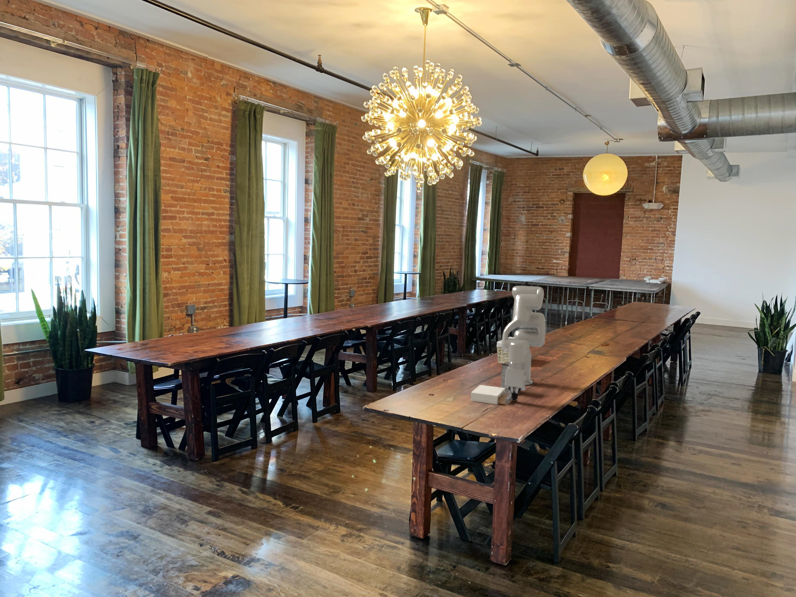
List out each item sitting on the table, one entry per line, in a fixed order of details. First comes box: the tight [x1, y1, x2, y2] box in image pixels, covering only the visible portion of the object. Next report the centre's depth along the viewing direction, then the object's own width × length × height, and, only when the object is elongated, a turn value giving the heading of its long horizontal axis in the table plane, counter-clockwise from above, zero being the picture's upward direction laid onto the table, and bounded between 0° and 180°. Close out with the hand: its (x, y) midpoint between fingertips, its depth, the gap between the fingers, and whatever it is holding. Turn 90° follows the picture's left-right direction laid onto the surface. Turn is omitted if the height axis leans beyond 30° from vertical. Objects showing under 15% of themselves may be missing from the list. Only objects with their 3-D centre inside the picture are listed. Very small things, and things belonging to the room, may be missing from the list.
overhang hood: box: [470, 384, 506, 405], centre depth 309 cm, size 17×14×4 cm
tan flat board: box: [498, 394, 513, 405], centre depth 307 cm, size 11×17×3 cm, turn 66°
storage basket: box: [496, 336, 531, 364], centre depth 399 cm, size 24×16×15 cm
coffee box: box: [500, 362, 516, 395], centre depth 322 cm, size 9×6×16 cm
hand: (514, 399), depth 303 cm, fingers closed
